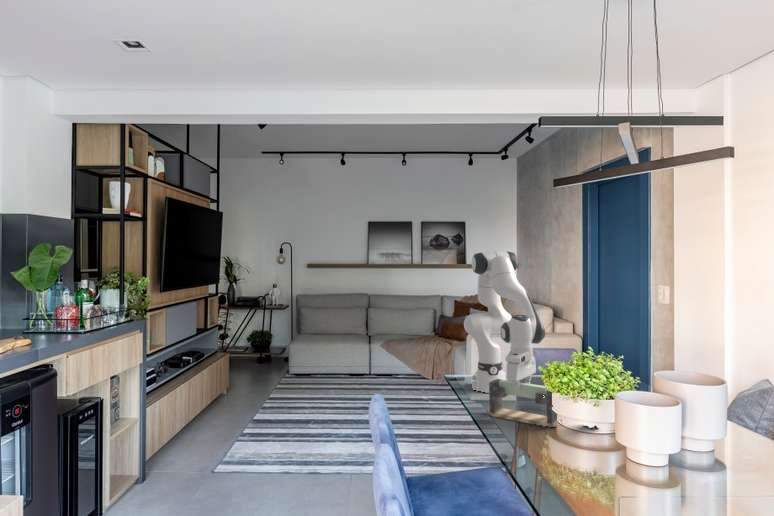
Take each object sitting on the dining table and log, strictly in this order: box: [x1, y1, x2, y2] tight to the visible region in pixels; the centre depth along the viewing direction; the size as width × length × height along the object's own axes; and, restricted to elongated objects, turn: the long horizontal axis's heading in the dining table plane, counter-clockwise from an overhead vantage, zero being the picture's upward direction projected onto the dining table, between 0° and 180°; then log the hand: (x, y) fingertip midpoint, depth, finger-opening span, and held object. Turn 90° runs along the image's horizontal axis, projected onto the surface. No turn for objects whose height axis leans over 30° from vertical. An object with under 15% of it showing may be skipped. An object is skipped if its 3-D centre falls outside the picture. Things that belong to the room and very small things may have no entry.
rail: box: [499, 379, 549, 400], centre depth 205 cm, size 20×3×5 cm, turn 50°
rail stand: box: [487, 379, 557, 428], centre depth 206 cm, size 29×8×14 cm, turn 50°
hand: (522, 388), depth 206 cm, fingers open, 8 cm apart
